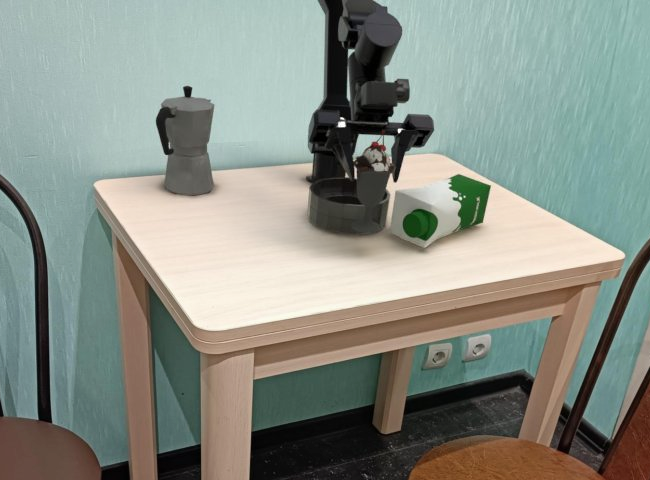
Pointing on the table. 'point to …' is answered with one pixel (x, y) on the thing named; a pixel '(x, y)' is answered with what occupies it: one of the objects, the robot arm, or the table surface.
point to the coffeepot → (186, 143)
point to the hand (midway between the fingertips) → (374, 180)
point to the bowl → (341, 205)
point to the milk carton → (438, 209)
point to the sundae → (372, 183)
